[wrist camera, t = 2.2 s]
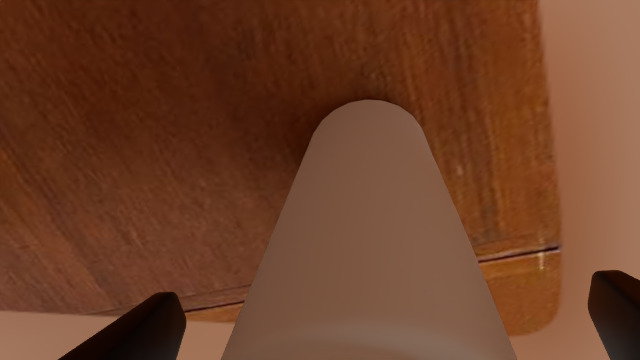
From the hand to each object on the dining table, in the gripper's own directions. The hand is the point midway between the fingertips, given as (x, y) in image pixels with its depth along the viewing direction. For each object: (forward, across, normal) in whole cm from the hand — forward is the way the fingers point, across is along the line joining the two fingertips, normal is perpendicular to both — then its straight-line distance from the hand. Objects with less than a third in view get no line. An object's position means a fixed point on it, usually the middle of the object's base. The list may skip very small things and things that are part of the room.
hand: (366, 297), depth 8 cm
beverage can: (+8, 0, 0) cm, 8 cm away
